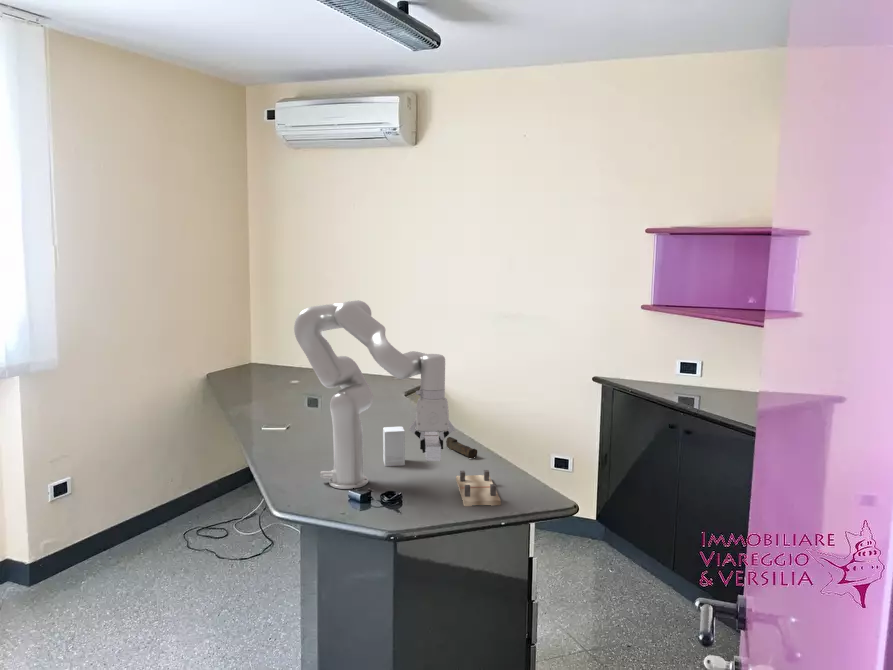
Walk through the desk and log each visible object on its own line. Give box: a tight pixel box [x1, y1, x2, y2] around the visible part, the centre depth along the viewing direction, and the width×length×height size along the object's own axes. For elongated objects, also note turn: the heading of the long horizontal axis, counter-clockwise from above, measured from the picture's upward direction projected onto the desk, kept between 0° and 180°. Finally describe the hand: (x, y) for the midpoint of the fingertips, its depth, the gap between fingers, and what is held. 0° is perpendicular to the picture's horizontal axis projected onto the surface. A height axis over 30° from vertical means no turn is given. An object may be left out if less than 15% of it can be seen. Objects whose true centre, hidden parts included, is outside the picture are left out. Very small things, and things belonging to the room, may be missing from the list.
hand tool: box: [445, 436, 478, 459], centre depth 257 cm, size 19×4×5 cm, turn 29°
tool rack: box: [455, 469, 502, 507], centre depth 213 cm, size 11×24×4 cm, turn 5°
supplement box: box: [382, 426, 406, 467], centre depth 243 cm, size 7×7×13 cm
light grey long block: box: [424, 432, 442, 462], centre depth 211 cm, size 4×18×4 cm, turn 5°
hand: (431, 450), depth 211 cm, fingers closed on light grey long block, 4 cm apart
